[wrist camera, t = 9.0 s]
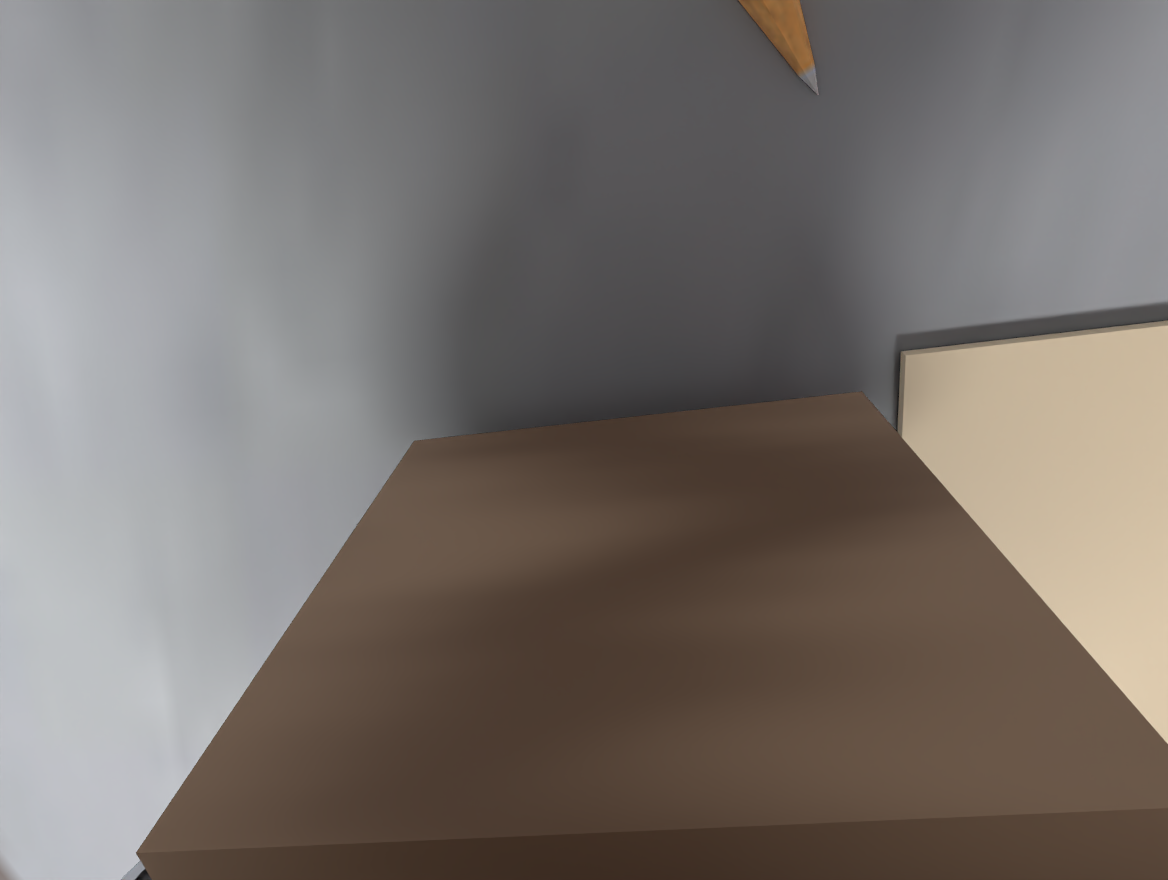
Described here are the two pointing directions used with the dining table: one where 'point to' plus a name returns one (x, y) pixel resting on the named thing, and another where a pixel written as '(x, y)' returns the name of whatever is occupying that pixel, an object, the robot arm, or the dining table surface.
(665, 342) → the dining table surface
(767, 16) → the pencil
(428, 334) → the dining table surface
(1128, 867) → the block
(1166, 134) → the dining table surface
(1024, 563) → the letter
